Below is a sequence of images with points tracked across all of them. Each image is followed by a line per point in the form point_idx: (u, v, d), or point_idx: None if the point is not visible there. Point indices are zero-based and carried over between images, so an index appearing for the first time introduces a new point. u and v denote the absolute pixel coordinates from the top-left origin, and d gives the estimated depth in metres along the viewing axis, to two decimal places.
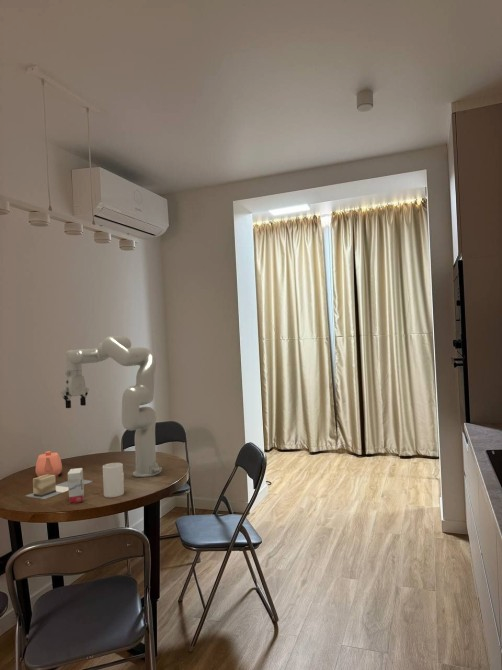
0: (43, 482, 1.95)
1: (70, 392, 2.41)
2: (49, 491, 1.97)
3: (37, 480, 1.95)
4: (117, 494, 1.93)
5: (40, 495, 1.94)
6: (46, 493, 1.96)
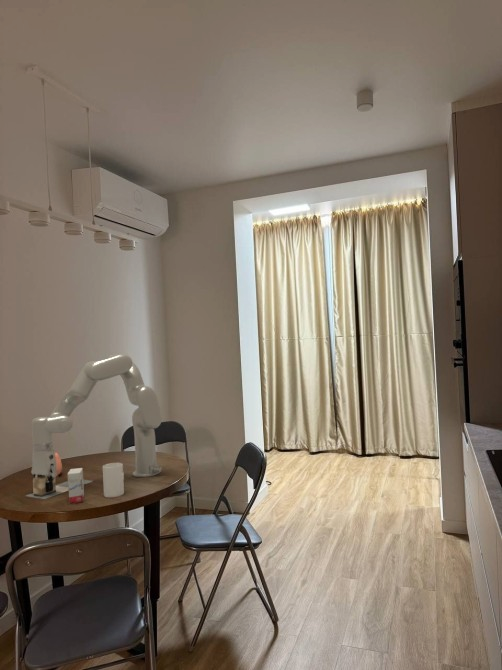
0: (43, 482, 1.95)
1: (56, 468, 1.98)
2: None
3: (37, 480, 1.95)
4: (117, 494, 1.93)
5: (40, 495, 1.94)
6: (46, 493, 1.96)
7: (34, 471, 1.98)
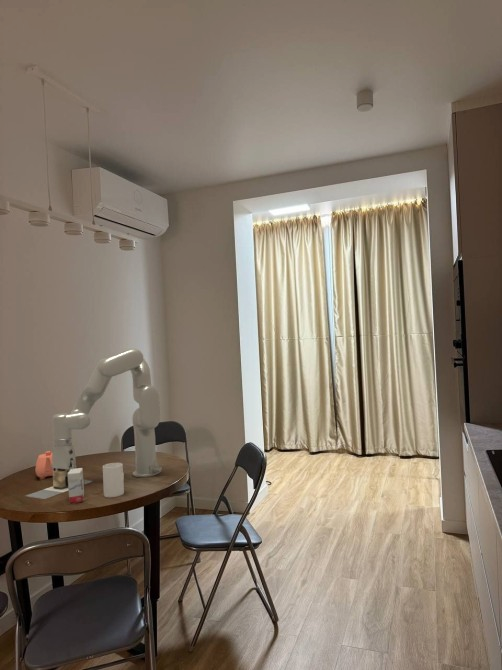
0: (62, 475, 2.03)
1: (75, 463, 2.07)
2: None
3: (57, 473, 2.04)
4: (117, 494, 1.93)
5: (60, 487, 2.03)
6: (65, 486, 2.04)
7: (54, 465, 2.07)
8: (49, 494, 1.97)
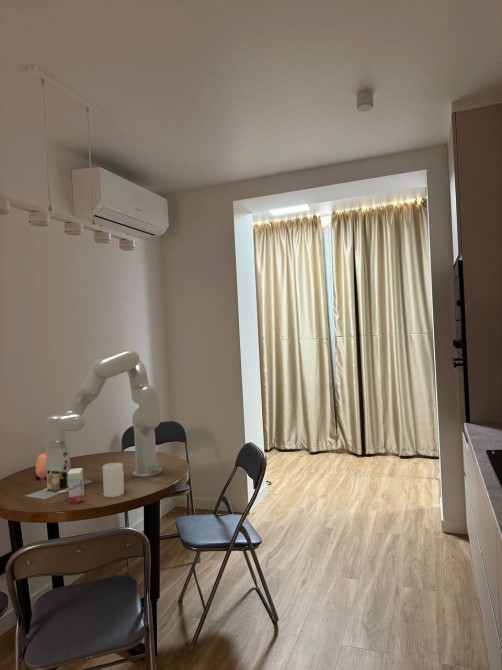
0: (56, 477, 2.00)
1: (69, 465, 2.04)
2: None
3: (51, 476, 2.01)
4: (117, 494, 1.93)
5: (54, 490, 2.00)
6: (60, 488, 2.02)
7: (48, 468, 2.04)
8: (49, 494, 1.97)
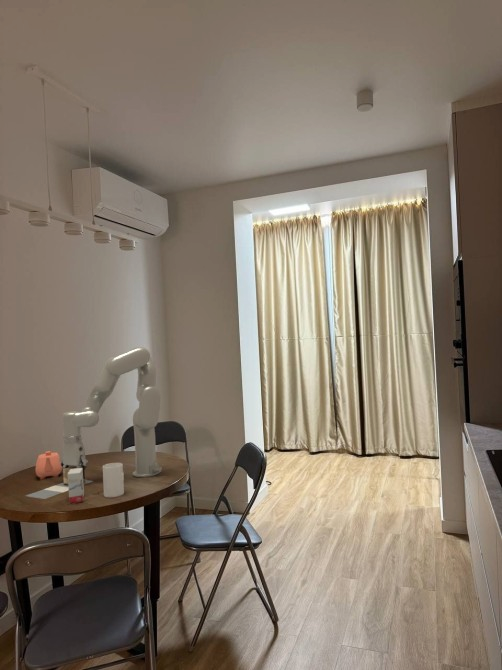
0: None
1: None
2: None
3: (67, 470, 2.08)
4: (117, 494, 1.93)
5: None
6: None
7: (64, 462, 2.11)
8: (49, 494, 1.97)
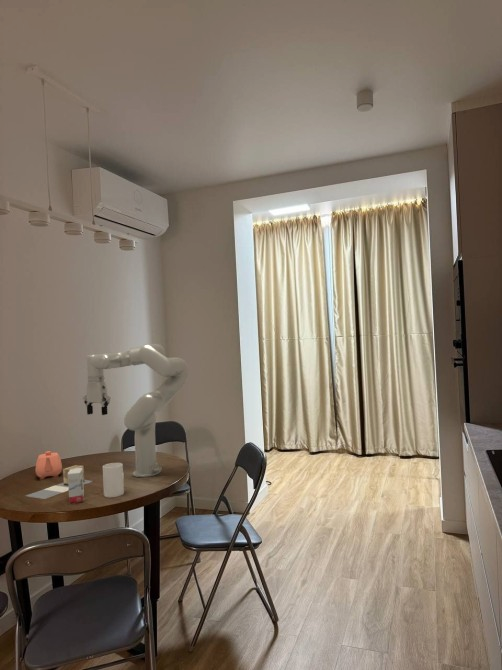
0: None
1: None
2: None
3: (67, 470, 2.08)
4: (117, 494, 1.93)
5: None
6: None
7: (88, 400, 2.33)
8: (49, 494, 1.97)
